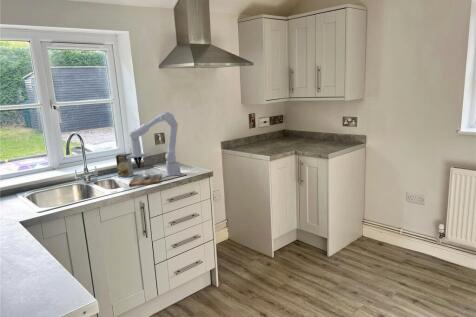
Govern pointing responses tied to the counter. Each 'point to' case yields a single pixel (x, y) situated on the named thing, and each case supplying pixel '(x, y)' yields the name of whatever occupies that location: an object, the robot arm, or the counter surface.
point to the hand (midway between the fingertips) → (139, 167)
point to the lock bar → (146, 175)
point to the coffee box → (124, 165)
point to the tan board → (139, 180)
